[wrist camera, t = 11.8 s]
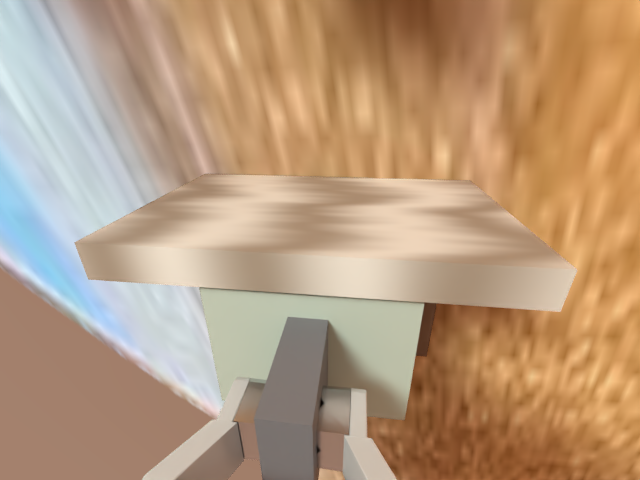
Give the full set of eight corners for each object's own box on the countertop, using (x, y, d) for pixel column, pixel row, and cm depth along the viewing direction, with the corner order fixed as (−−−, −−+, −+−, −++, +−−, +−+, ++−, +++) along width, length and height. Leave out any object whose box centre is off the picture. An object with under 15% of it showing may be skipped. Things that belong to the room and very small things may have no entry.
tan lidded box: (470, 180, 18) (577, 269, 9) (440, 326, 23) (491, 482, 14) (205, 173, 20) (74, 242, 11) (227, 310, 24) (149, 437, 15)
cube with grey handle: (399, 217, 18) (456, 412, 7) (389, 304, 20) (420, 544, 10) (262, 212, 19) (124, 378, 8) (269, 295, 21) (173, 506, 10)
